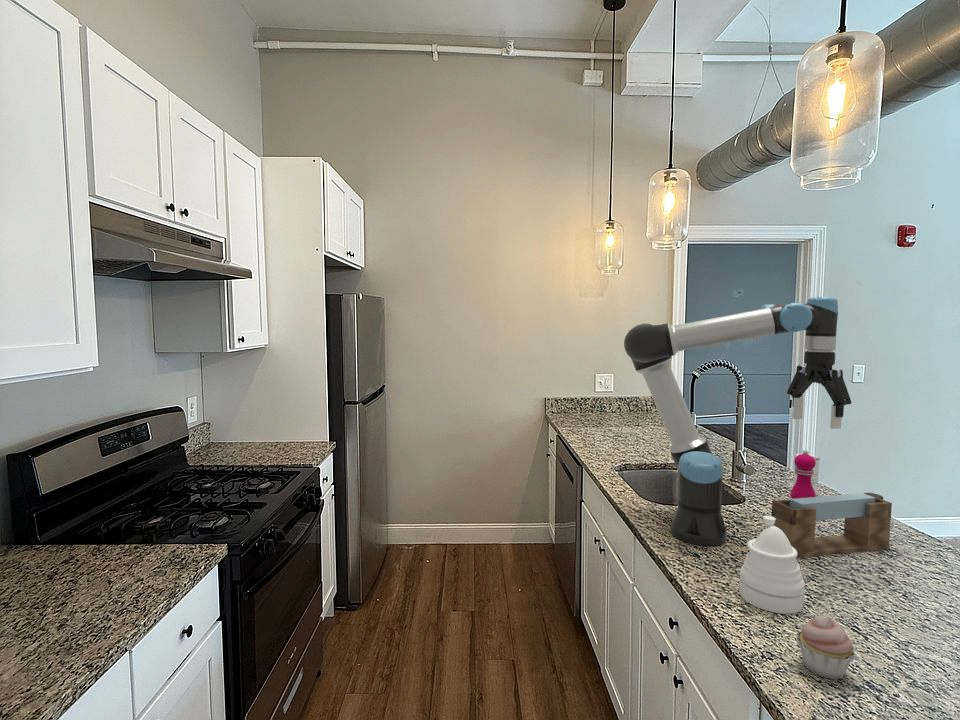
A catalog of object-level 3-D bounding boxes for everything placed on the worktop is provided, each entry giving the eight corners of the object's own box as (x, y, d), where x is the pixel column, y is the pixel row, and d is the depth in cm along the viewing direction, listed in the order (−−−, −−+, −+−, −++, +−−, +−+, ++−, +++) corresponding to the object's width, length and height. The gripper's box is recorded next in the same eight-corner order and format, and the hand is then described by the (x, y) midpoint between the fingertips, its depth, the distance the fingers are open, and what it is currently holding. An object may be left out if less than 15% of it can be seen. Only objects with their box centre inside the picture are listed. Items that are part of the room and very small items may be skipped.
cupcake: (848, 694, 89) (852, 638, 88) (787, 667, 95) (790, 615, 95) (861, 669, 95) (864, 616, 94) (802, 645, 102) (805, 596, 101)
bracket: (791, 558, 139) (793, 510, 138) (769, 545, 146) (771, 500, 145) (889, 549, 144) (892, 503, 143) (863, 537, 152) (866, 493, 151)
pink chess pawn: (792, 493, 190) (794, 454, 189) (802, 491, 193) (804, 452, 191) (808, 498, 185) (810, 458, 184) (818, 495, 188) (820, 456, 186)
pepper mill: (790, 510, 173) (793, 451, 172) (789, 503, 180) (792, 446, 178) (816, 514, 170) (819, 453, 168) (814, 507, 176) (817, 448, 175)
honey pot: (728, 584, 125) (731, 511, 124) (779, 582, 126) (783, 510, 125) (760, 614, 112) (764, 533, 111) (817, 612, 113) (822, 532, 112)
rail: (800, 522, 140) (801, 504, 140) (789, 516, 144) (789, 499, 144) (873, 515, 145) (875, 497, 145) (860, 510, 149) (861, 493, 149)
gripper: (870, 353, 140) (865, 432, 142) (797, 348, 164) (793, 415, 166) (846, 354, 138) (841, 433, 140) (776, 348, 163) (773, 415, 165)
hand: (815, 423), depth 153 cm, fingers open, 13 cm apart
